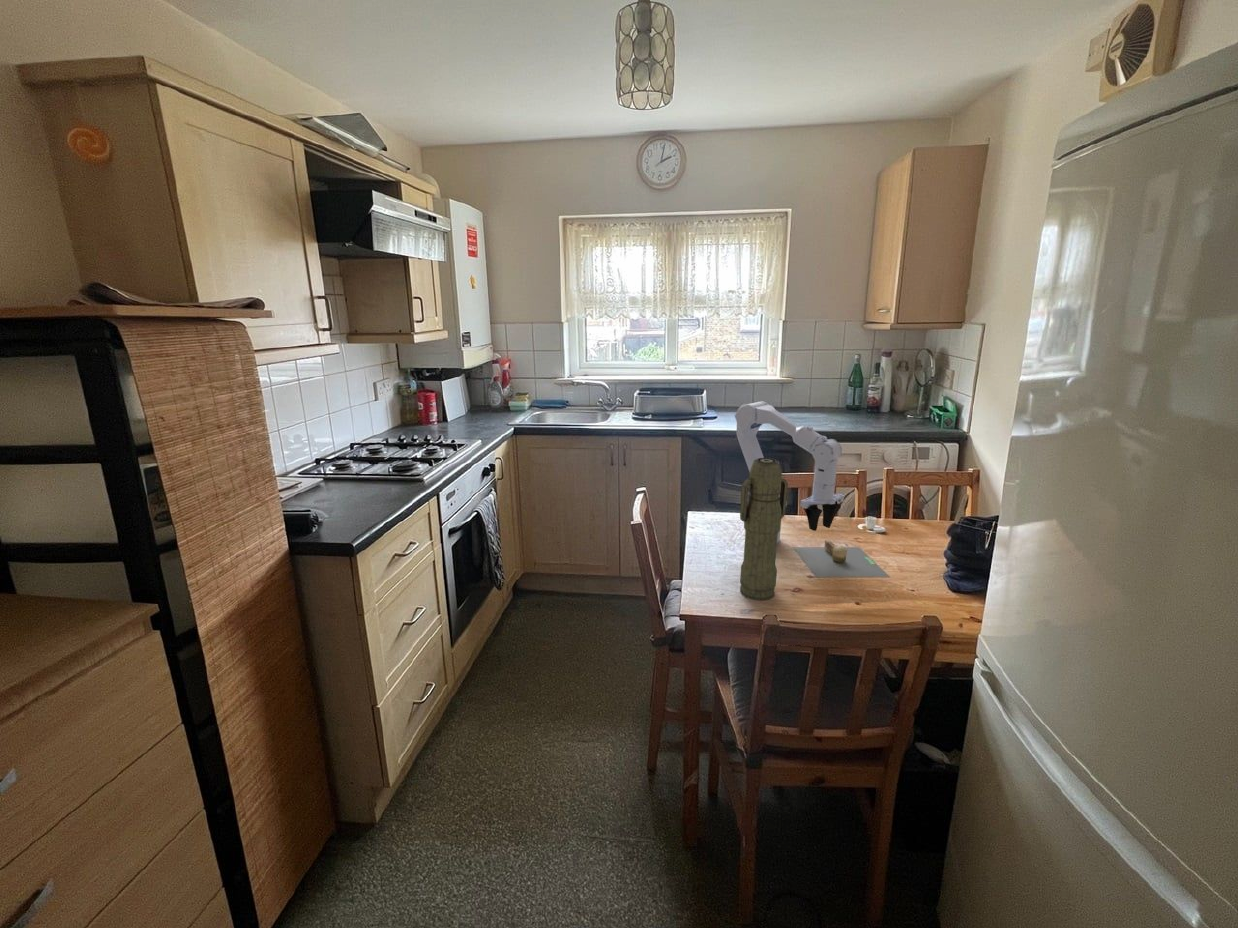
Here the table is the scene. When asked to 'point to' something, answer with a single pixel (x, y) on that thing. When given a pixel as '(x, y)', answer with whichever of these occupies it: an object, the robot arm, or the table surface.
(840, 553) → the olive brown knobbed bar
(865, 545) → the table surface
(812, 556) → the board
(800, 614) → the table surface
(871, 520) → the teacup and saucer
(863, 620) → the table surface
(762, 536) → the olive green tall cylinder
